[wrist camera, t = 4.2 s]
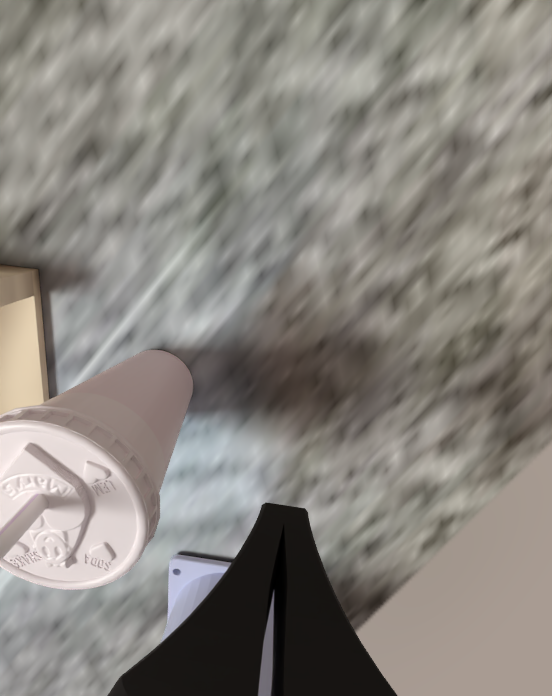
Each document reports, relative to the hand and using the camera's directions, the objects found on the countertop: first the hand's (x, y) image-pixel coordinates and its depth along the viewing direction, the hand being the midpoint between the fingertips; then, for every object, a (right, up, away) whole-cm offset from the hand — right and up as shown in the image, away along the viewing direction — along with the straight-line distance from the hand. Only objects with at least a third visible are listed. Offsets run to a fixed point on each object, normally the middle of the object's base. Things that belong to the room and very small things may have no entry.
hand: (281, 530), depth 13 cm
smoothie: (-6, +4, +9) cm, 12 cm away
